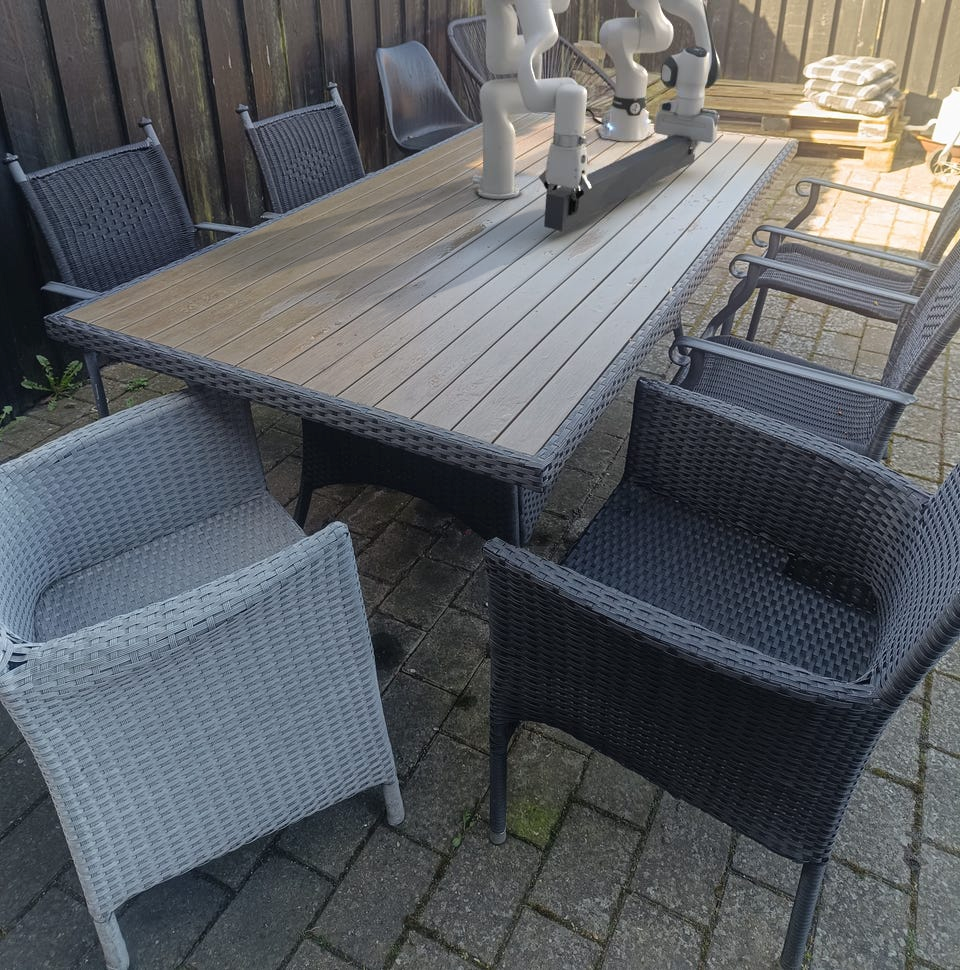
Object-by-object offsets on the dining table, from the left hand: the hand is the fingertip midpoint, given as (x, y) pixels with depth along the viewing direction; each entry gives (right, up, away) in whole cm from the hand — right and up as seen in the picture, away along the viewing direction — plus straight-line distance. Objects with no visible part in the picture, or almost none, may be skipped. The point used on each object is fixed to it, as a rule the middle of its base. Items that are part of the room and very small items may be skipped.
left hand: (562, 210), depth 221 cm
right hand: (+43, +34, +48) cm, 73 cm away
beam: (+21, +14, +26) cm, 36 cm away
